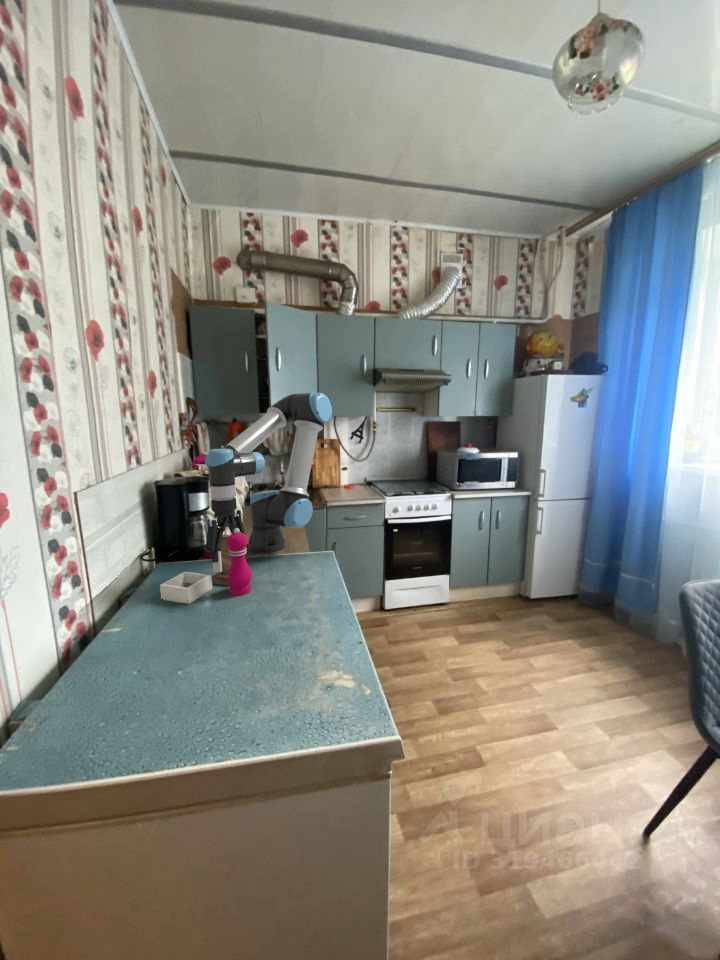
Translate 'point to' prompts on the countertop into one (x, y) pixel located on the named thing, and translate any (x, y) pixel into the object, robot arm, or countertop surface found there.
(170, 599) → the white storage tray
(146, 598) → the countertop surface
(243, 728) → the countertop surface
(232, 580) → the pepper mill
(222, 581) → the holder
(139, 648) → the countertop surface
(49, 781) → the countertop surface
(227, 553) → the brown wooden block
